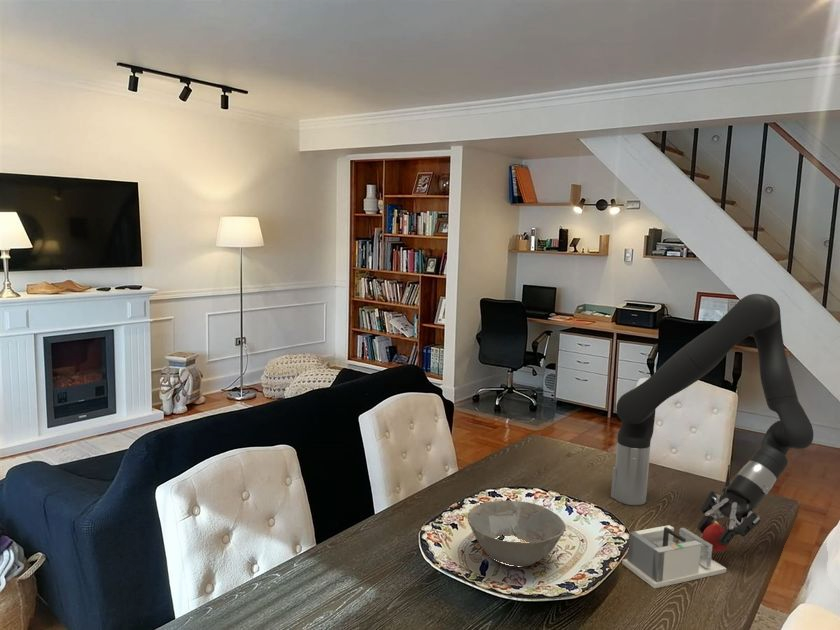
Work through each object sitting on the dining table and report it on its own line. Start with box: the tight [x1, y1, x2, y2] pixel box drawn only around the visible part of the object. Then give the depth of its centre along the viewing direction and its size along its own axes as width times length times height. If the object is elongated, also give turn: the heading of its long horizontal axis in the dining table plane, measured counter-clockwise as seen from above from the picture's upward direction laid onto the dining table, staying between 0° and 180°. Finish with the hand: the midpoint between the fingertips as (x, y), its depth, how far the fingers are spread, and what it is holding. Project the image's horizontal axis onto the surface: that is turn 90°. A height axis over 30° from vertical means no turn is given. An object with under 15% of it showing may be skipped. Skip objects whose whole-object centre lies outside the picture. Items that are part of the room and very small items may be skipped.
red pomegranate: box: [701, 520, 730, 554], centre depth 151 cm, size 6×6×8 cm
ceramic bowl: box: [467, 499, 567, 567], centre depth 149 cm, size 22×23×10 cm
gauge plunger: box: [652, 527, 713, 568], centre depth 146 cm, size 11×10×9 cm
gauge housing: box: [621, 524, 727, 590], centre depth 147 cm, size 21×11×8 cm, turn 111°
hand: (710, 537), depth 150 cm, fingers closed on red pomegranate, 5 cm apart
